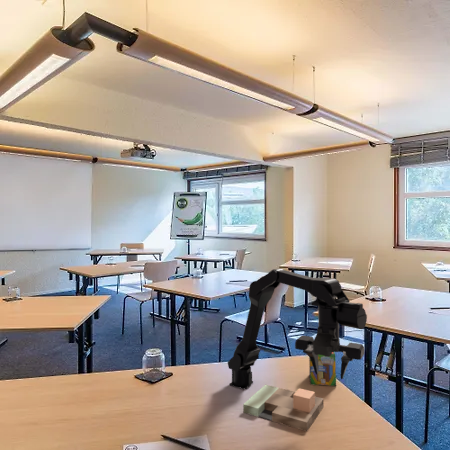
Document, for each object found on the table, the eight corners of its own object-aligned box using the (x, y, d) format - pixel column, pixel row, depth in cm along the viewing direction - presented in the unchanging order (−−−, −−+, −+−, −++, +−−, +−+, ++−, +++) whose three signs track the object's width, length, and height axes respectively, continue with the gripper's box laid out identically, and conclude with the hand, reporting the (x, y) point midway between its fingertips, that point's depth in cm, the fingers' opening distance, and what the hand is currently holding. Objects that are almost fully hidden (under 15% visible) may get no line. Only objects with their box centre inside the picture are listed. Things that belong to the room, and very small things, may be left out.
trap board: (243, 412, 110) (243, 404, 110) (265, 391, 124) (265, 384, 124) (306, 431, 100) (306, 422, 100) (323, 406, 114) (323, 398, 114)
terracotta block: (293, 408, 108) (293, 394, 108) (299, 401, 112) (299, 388, 112) (309, 412, 105) (309, 398, 105) (315, 405, 109) (314, 392, 109)
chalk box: (336, 387, 127) (336, 345, 127) (309, 384, 129) (309, 343, 129) (333, 376, 136) (333, 337, 137) (309, 374, 138) (308, 335, 138)
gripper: (288, 324, 103) (288, 379, 103) (356, 334, 93) (357, 394, 93) (301, 316, 112) (301, 366, 112) (364, 324, 103) (365, 379, 103)
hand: (329, 376), depth 105 cm, fingers open, 7 cm apart
